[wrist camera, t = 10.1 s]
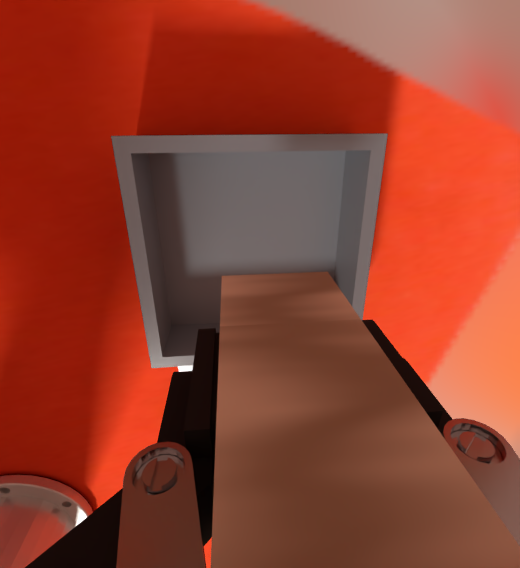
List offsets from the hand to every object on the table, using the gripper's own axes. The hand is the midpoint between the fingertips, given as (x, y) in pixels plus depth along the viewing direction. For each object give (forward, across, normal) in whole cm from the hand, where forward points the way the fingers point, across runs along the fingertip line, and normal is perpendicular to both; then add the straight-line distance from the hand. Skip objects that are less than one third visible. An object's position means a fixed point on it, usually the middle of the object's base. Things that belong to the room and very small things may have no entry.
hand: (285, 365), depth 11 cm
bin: (+15, 0, 0) cm, 15 cm away
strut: (+3, 0, 0) cm, 3 cm away
